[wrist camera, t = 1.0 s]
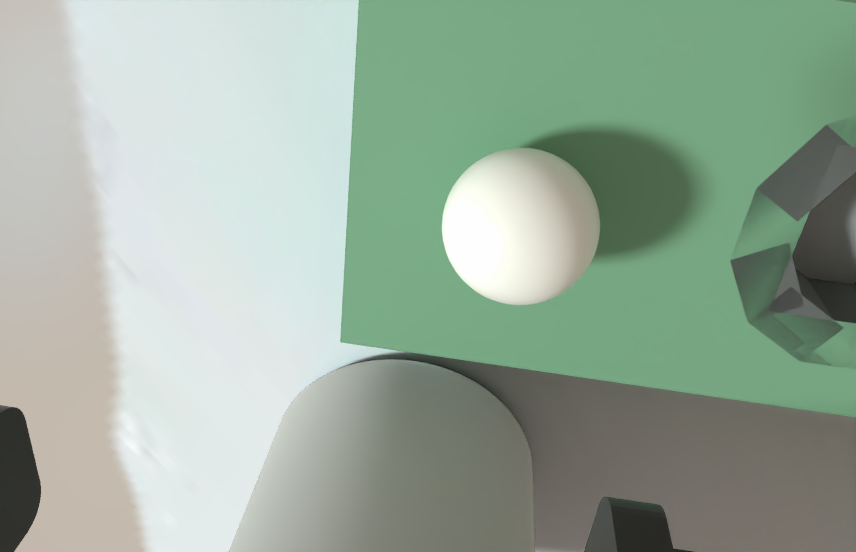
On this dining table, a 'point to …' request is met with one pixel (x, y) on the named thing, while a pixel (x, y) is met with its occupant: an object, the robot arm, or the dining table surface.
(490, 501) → the cylinder vase
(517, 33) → the green flat slab
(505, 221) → the ball
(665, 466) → the dining table surface
